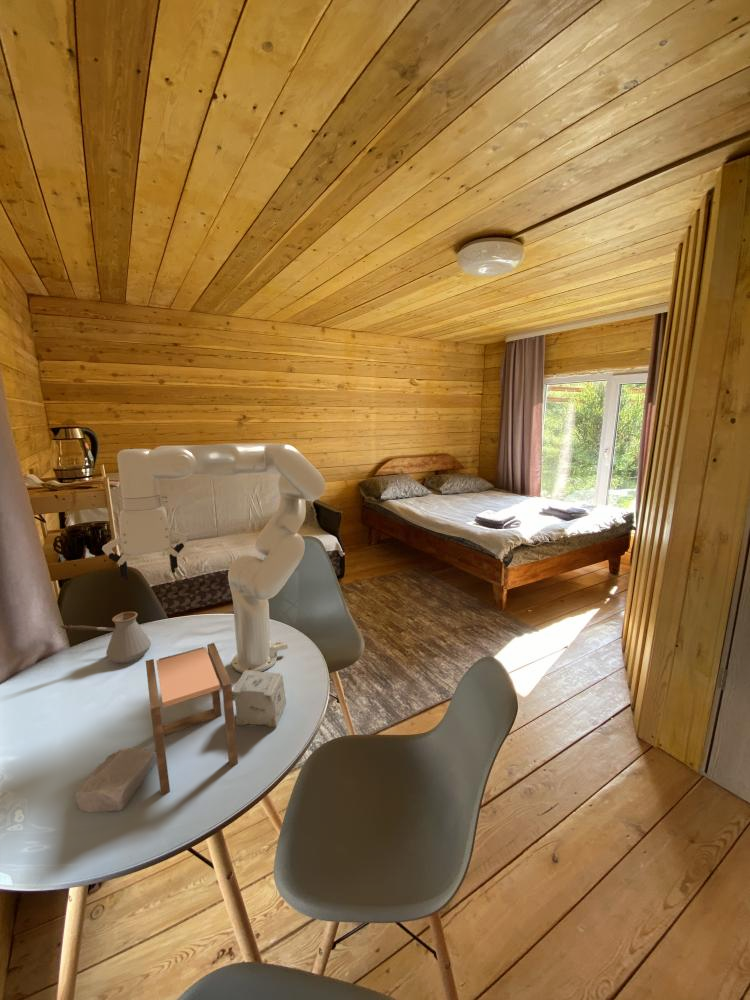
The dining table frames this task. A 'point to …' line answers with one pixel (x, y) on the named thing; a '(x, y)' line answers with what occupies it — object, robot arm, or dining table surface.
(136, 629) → the coffee pot
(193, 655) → the trapdoor
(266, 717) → the white speckled block
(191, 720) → the stand
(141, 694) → the dining table surface
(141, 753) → the stone block
